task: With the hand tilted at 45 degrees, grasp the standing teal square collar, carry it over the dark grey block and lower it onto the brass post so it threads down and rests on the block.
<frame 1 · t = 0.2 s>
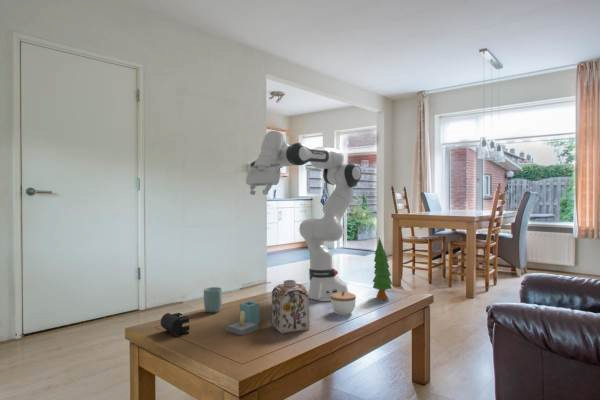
hand: (258, 194, 174), 52 cm above the table, tool tilted 20°, fingers open, 8 cm apart
shaft block: (242, 330, 150), on the table
decorative jar: (290, 328, 153), on the table
decorative tree: (383, 298, 195), on the table
cup: (213, 312, 176), on the table
lidded jar: (343, 313, 171), on the table
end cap: (175, 333, 149), on the table
collar: (249, 323, 159), on the table
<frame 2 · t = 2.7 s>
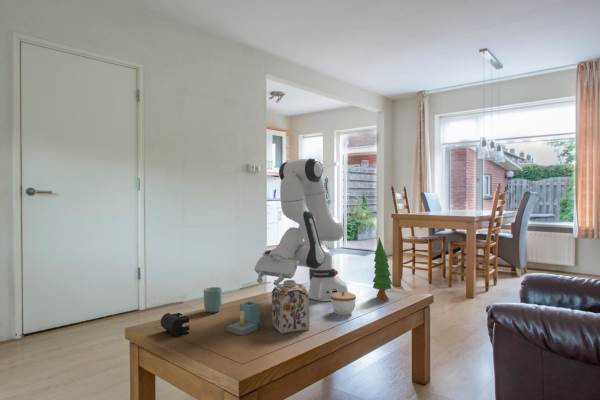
hand: (266, 283, 167), 14 cm above the table, tool tilted 45°, fingers open, 8 cm apart
nothing on the table moved.
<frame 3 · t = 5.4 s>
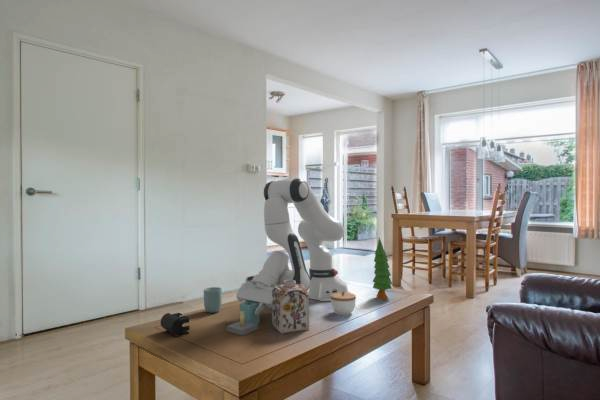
hand: (248, 312, 158), 4 cm above the table, tool tilted 45°, fingers closed on collar, 5 cm apart
collar: (249, 323, 159), on the table, touching gripper
everything else where it was.
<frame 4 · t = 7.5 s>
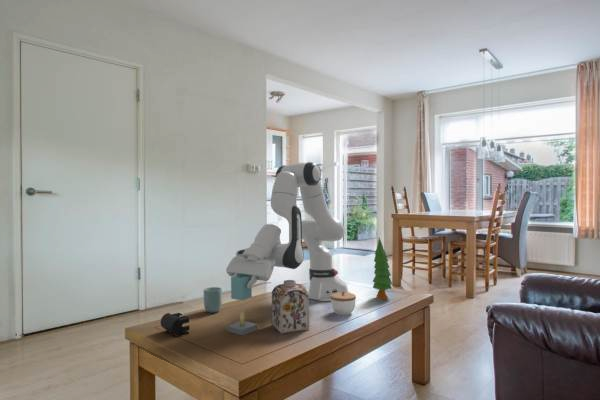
hand: (240, 286, 150), 17 cm above the table, tool tilted 45°, fingers closed on collar, 5 cm apart
collar: (241, 297, 150), point 12 cm above the table, touching gripper
everything else where it was.
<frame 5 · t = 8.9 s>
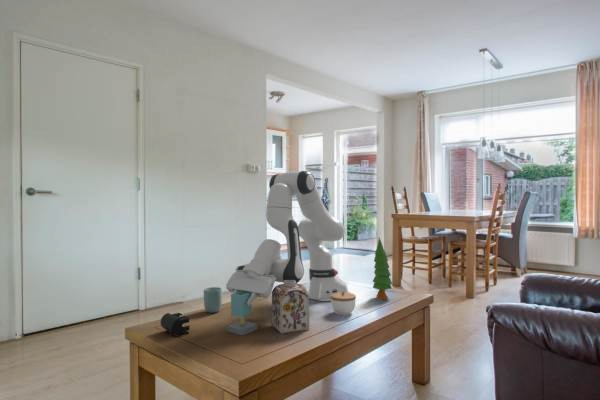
hand: (240, 303, 150), 10 cm above the table, tool tilted 45°, fingers closed on collar, 5 cm apart
collar: (241, 314, 150), point 6 cm above the table, touching gripper
everything else where it was.
when the fingers open (9 cm above the table, at t = 10.0 s): collar drops 2 cm, resting on shaft block.
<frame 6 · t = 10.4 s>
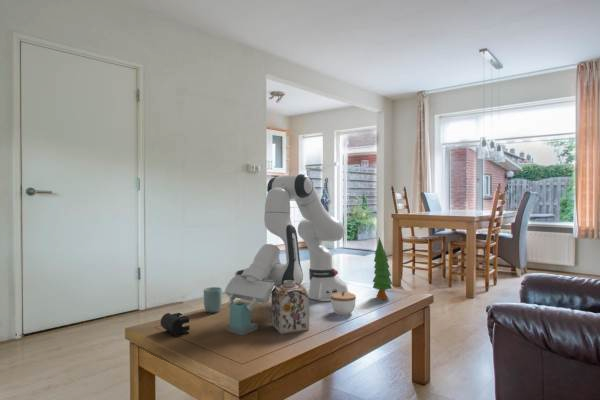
hand: (238, 308, 150), 9 cm above the table, tool tilted 45°, fingers open, 8 cm apart
decorative jar: (290, 328, 153), on the table, touching arm
collar: (240, 325, 150), point 2 cm above the table, touching shaft block
everything else where it was.
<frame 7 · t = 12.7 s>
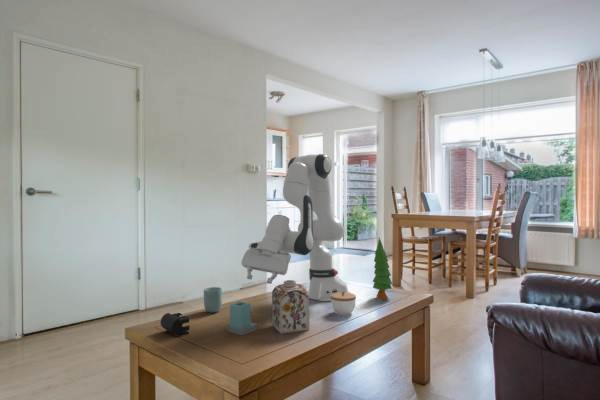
hand: (258, 280, 160), 17 cm above the table, tool tilted 30°, fingers open, 8 cm apart
decorative jar: (290, 328, 153), on the table
everything else where it was.
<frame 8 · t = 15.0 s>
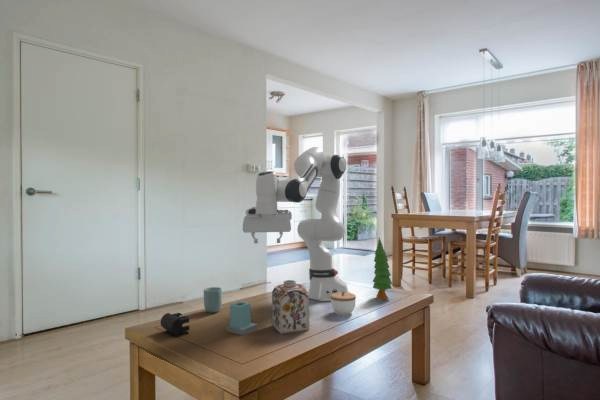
hand: (267, 243, 166), 31 cm above the table, tool pointing down, fingers open, 8 cm apart
nothing on the table moved.
at the end: collar 0.7 cm off-centre on the shaft block, point 2.0 cm above the shaft block's base; collar tilted 0°; the gripper is holding nothing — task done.
